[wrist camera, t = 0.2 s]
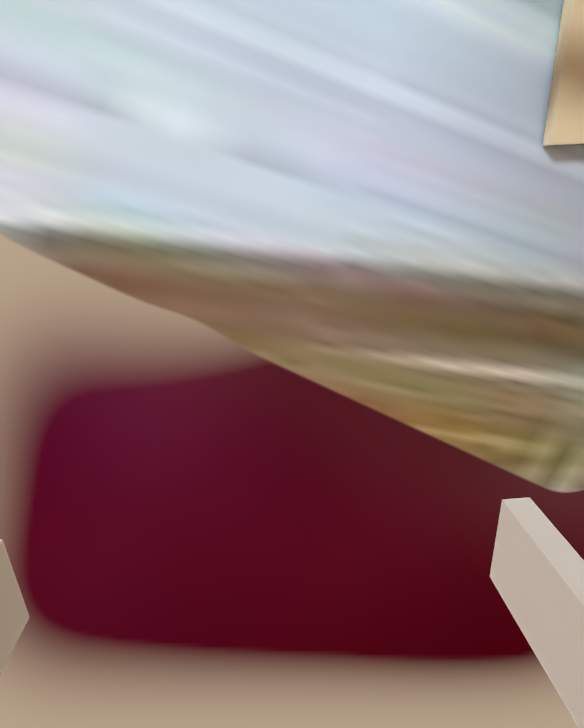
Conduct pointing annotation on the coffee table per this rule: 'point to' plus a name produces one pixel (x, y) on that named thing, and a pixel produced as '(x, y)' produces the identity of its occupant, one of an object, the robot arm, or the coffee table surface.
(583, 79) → the board
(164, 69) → the coffee table surface
